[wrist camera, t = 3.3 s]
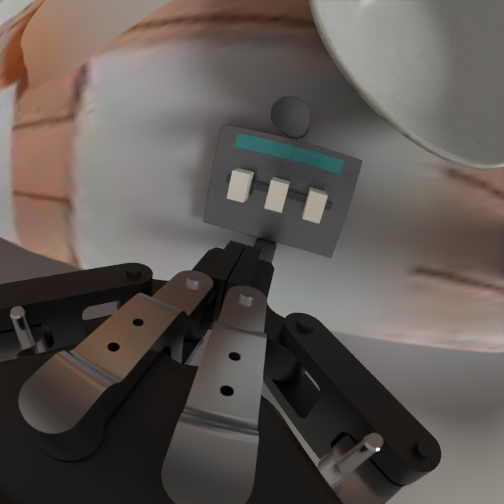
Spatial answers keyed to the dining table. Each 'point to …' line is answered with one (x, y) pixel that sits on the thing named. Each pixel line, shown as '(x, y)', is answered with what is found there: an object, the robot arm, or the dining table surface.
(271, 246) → the cord post
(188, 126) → the dining table surface
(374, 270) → the dining table surface
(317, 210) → the paddles
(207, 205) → the panel
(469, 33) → the decorative bowl
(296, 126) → the dark gray rounded rod
